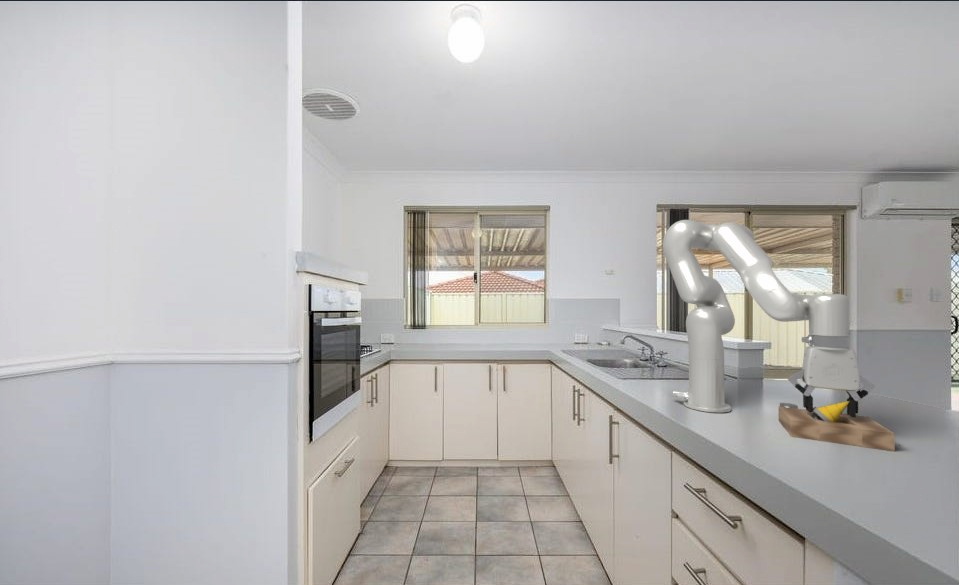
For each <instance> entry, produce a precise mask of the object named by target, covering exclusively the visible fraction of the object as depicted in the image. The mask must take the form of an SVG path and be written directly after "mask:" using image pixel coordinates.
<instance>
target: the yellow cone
mask: <svg viewBox="0 0 959 585" xmlns="http://www.w3.org/2000/svg"><path fill="white" fill-rule="evenodd" d="M849 402H850V401H847V400H846V401H842V402H837V403H833V404H829V405H824V406H819V407H816V406H813V411H814V413H812V414H810V415H811V417H812V418H813V419H814V420H819V416H820V417H821V418H822V419H823V420H819V421H827V422H836V421H837V420H838V418H839V417H840V415H841V414H843V412H844V411H845V409H847V405H848V403H849ZM816 413H817V414H818V415H819V416H818V415H817V414H816Z"/></svg>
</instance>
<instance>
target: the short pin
mask: <svg viewBox="0 0 959 585" xmlns="http://www.w3.org/2000/svg"><path fill="white" fill-rule="evenodd" d="M779 406H780V407H789V408H797V409H799V406H798V404H796V403H789V402H780V403H779Z"/></svg>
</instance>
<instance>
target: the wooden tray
mask: <svg viewBox="0 0 959 585" xmlns="http://www.w3.org/2000/svg"><path fill="white" fill-rule="evenodd" d="M812 413H814V411H813V412H808V411H807V410H806V408H798V409H797V408H789V407H780V405H779V406H778V422H779V424H781V426H782V428H784V430H785V431H786V432H787V433H788V435H790V438H791V437H792V438H800V439H806V440H813V441H822V442H827V443H834V444H839V445H840V444H841V445H849V446H856V447H863V448H869V449H876V450H884V451H889V452H890V451H891V452H895V450H896V449H895V448H896V446H895V442H896V441H895V432H893V431H891V430H890V429H888V428H887V427H885V426H883V425H882V424H880V423H878V422H877V421H876V420H874V419H872V418H871V417H869V416H866V415H865V416H864V415H858V414H856V417H851V416H850V415H848V414H847V413H842V414H841V415H840V417H839V418H838V420H837V421H836V422H827V421H819V420H823V419H822V418H821V417H820V416H819V415H818V414H817V413H816V414H817V415H818V416H819V420H814V419H813V418H812V417H811V415H810V414H812Z"/></svg>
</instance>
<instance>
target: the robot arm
mask: <svg viewBox="0 0 959 585" xmlns="http://www.w3.org/2000/svg"><path fill="white" fill-rule="evenodd" d="M692 249H697V250H708V251H716V252H720V254H721V255H722V256H723V257H724V258H725V260H726V261H727V262H728V263H729V265H730V266H731V267H732V268H733V269H734V271H736V273H737V274H738V275H739V276H740V280H741V282H742V283H743V284H744V286H745V288H746V290H747V292H748V294H749V295H750V297H751V298H752V299H753V300H754V301H755V302H756V304H757V305H758V306H759V307H760V308H761V310H762V311H764V313H765V314H766V315H767V316H768V317H770V318H771V319H772V320H775V321H777V322H783V323H784V322H787V323H789V322H802V321H808V334H807V336H802V337H801V343H805V344H808V346H805V350H804V353H803V359H802V360H803V361H802V368H801V370H800V371H798V372H795V373H793V374H792V375H790V376H788V377H787V380H788V381H789V382H790V384H791V385H792V386H793V387H794V388H795V389H797V390H798V392H800V393H801V394H802V398H803V399H802V402H803V403H802V404H803V409H806V410H807V411H808V412H813V408H814V398H813V396H812V393H813V392H814V391H815V389H825V390H833V391H835V390H836V391H845V393H846V394H847V396H848V397H847V399H846V401H850V402H849V403H848V405H847V406H846V414H848V415H850V416H851V417H856V415H858V414H859V402H860V401H861V400H862V399H863V398H864V397H867V396H868V395H869V393H871V392H872V391H873V390H874V389H875V388H876V385H875V384H873V383H872V382H870V381H869V380H867V379H866V378H864V377H863V376H861V375H860V368H859V361H858V358H857V353H856V351H855V349H851V337H850V334H851V332H850V300H849V297H848V296H847V295H845V294H842V293H841V294H840V293H820V294H819V293H817V294H812V295H809V294H800V293H792V292H791V291H790V290H789V289H788V288H787V287H786V286H785V285H784V283H782V282H781V279H779V278H778V277H777V275H776V273H775V272H774V270H773V268H772V267H773V266H772V260H771V258H770V256H769V255H768V254H767V253H766V251H765V250H764V249H763V248H762V247H761V246H760V245H759V244H758V243H757V242H756V241H755V235H754V233H753V231H752V230H751V229H750V228H749V227H748V226H745V225H744V224H740V223H737V222H732V221H729V222H723V223H721V224H706V223H704V222H700V221H696V220H693V219H692V220H691V219H681V220H678V221H675V222H674V223H673V224H671V226H669V228H668V229H667V230H666V232H665V234H664V236H663V240H662V251H663V254H664V258H665V260H666V263H667V265H668V268H669V270H670V273H671V276H672V279H673V281H674V284H675V287H676V290H677V293H678V296H679V297H680V299H681V300H682V301H683V302H685V303H687V304H691V305H696V308H694V309H692V310H691V311H690V312H689V313H688V314H687V315H686V320H685V330H686V334H687V340H688V341H687V342H688V388H687V390H684V391H680V390H673V392H672V394H673V397H674V398H677V399H678V398H679V399H684V400H683V405H684V406H685V407H687V408H689V409H692V410H695V411H700V412H706V413H713V414H714V413H715V414H716V413H717V414H718V413H721V414H724V413H729V412H730V411H731V410H732V407H731V405H730V404H728V403H725V401H726V400H725V350H724V349H725V347H724V346H725V345H724V341H723V336H725V335H727V334H729V333H730V332H731V331H733V329H734V327H735V324H736V319H735V316H734V312H733V309H732V307H731V305H730V302H729V300H728V297H727V296H726V293H725V291H724V288H723V286H722V285H721V284H720V282H719V281H718V280H717V279H715V278H714V277H711V276H709V275H705V274H704V273H703V270H702V267H701V266H700V263H699V260H698V258H697V256H696V255H695V254H694V252H693V250H692ZM800 379H802V382H803V383H804V384H805V385H804V386H802V385H801V383H799V382H798V381H799V380H800ZM861 385H863V386H862V388H861Z"/></svg>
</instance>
